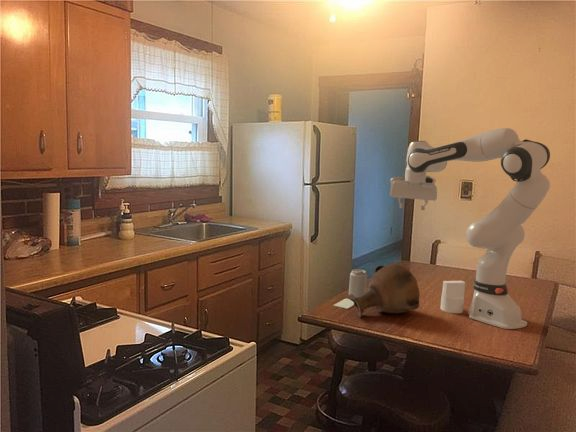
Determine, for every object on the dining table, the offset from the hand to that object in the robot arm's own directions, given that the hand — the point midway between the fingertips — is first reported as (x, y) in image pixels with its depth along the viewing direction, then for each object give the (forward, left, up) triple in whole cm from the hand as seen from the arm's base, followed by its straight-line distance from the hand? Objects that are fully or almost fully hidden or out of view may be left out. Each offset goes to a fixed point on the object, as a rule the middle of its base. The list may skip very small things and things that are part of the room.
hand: (411, 208), depth 224 cm
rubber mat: (-3, +34, -39) cm, 52 cm away
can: (+3, +24, -39) cm, 46 cm away
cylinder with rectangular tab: (-25, -4, -39) cm, 47 cm away
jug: (-17, +27, -40) cm, 51 cm away
